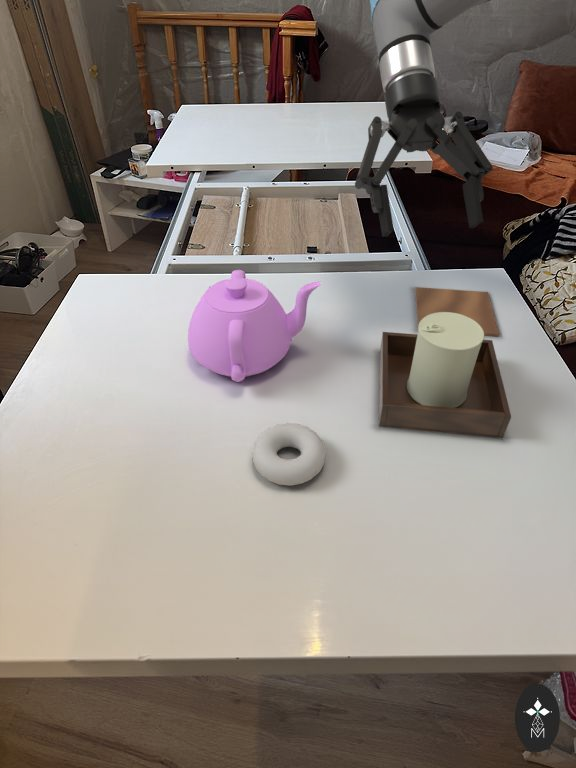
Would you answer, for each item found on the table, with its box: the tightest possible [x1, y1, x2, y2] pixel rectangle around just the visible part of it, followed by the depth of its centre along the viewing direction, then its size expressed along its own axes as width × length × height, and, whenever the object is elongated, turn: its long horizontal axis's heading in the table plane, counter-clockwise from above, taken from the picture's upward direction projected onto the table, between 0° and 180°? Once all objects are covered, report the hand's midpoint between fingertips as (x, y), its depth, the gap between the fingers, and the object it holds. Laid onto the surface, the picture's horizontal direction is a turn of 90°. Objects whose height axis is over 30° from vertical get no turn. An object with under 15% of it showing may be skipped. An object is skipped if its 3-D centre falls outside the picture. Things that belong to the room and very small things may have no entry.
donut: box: [251, 422, 327, 486], centre depth 72 cm, size 10×4×10 cm
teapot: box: [187, 269, 322, 383], centre depth 86 cm, size 22×22×14 cm
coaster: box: [414, 286, 500, 338], centre depth 100 cm, size 14×14×1 cm
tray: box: [378, 331, 512, 439], centre depth 82 cm, size 18×18×4 cm
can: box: [407, 312, 485, 408], centre depth 79 cm, size 9×9×12 cm
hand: (432, 229), depth 76 cm, fingers open, 13 cm apart
